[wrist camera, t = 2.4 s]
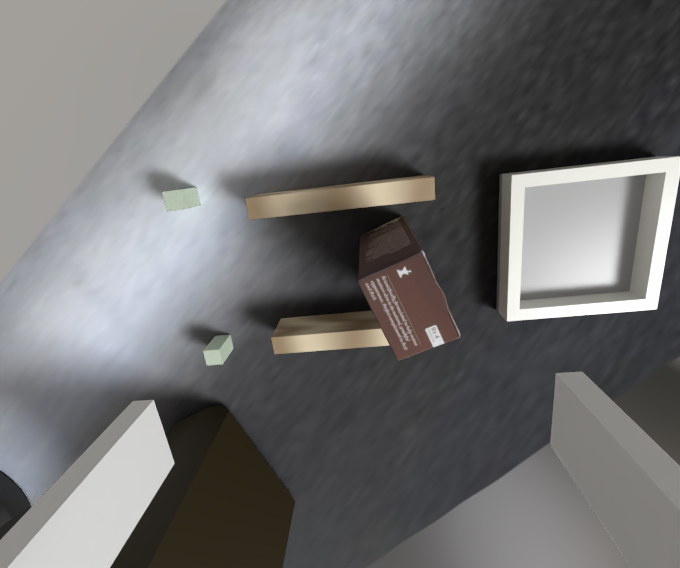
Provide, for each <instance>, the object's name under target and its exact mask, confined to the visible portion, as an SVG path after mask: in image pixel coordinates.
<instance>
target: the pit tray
mask: <svg viewBox="0 0 680 568" xmlns="http://www.w3.org/2000/svg"><path fill="white" fill-rule="evenodd" d="M679 177H680V156H658V157H648V158H639V159H630V160H621V161H612V162H603V163H594V164H586V165H577V166H568V167H559V168H550V169H541V170H532V171H523V172H515V173H506V174H500V178H499V221H498V264H497V306H496V310H497V311H498V312H499V313H500V314H501V315H502V317H503V318H504V319H505V320H506V321H518V320H530V319H542V318H555V317H567V316H580V315H592V314H604V313H617V312H629V311H642V310H654V309H657V305H658V299H659V293H660V288H661V282H662V276H663V270H664V264H665V259H666V253H667V247H668V241H669V235H670V230H671V224H672V218H673V212H674V206H675V201H676V195H677V189H678V183H679Z"/></svg>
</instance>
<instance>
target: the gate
mask: <svg viewBox="0 0 680 568" xmlns="http://www.w3.org/2000/svg"><path fill="white" fill-rule="evenodd" d="M162 194H163V198H164V202H165V206H166V210H167V211H174V210H183V209H188V208H191V207H195V206H198V205H201V204H200V200H199V196H198V191H197V187H194V188H185V189H178V190H171V191H165V192H162ZM232 350H233V344H232V340H231V335H219V336H215V337H214V338H213V339H212V341H211V342H210V343H209V344H208V345H207V347H206V348H205V349H204V350H203V352H204V356H205V360H206V364H207V365H219V364H223V363H224V362H225V360H226V359H227V357H228V356H229V354H230V353H231V351H232Z"/></svg>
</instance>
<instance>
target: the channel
mask: <svg viewBox="0 0 680 568" xmlns="http://www.w3.org/2000/svg"><path fill="white" fill-rule="evenodd" d="M428 200H435V183H434V177H432V176H427V175H421V176H412V177H404V178H395V179H386V180H377V181H369V182H360V183H351V184H342V185H334V186H325V187H316V188H307V189H299V190H290V191H281V192H272V193H264V194H257V195H254V196H251V197H248V198H245V201H246V207H247V212H248V217H249V220H253V219H262V218H271V217H280V216H290V215H299V214H308V213H317V212H326V211H336V210H345V209H354V208H363V207H372V206H382V205H391V204H400V203H409V202H418V201H428ZM271 338H272V343H273V348H274V354H284V353H297V352H309V351H322V350H335V349H348V348H361V347H374V346H387V345H389V343H388V341H387V339H386V337H385V335H384V333H383V331H382V329H381V327H380V325H379V323H378V322H377V320H376V318H375V316H374V314H373V312H372V311H361V312H349V313H337V314H326V315H314V316H302V317H291V318H281V319H280V321H279V323H278V325H277V327H276V329H275V331H274V333H273V335H272V337H271Z"/></svg>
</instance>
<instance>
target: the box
mask: <svg viewBox="0 0 680 568" xmlns="http://www.w3.org/2000/svg"><path fill="white" fill-rule="evenodd" d="M358 274H359V276H358V283H359V285H360V287H361V290H362V292H363V294H364V296H365V298H366V300H367V302H368V304H369V307H370V309H371V311H372V312H373V314H374V316H375V318H376V320H377V322H378V323H379V325H380V327H381V329H382V331H383V333H384V335H385V337H386V339H387V341H388V343H389V345H390V347H391V349H392V351H393V352H394V354H395V356H396V358H397V360H401V359H404V358H407V357H410V356H413V355H415V354H418V353H420V352H423V351H426V350H428V349H431V348H433V347H436V346H439V345H441V344H444V343H447V342H450V341H453V340H456V339H458V338H460V332H459V330H458V328H457V326H456V323H455V321H454V319H453V317H452V315H451V312H450V310H449V308H448V306H447V301H446V298H445V295H444V293H443V291H442V290H441V288H440V287H439V285H438V283H437V281H436V278H435V276H434V274H433V272H432V269H431V267H430V264H429V262H428V260H427V258H426V255H425V253H424V251H423V249H422V248H421V245H420V244H419V242H418V240H417V238H416V237H415V235H414V233H413V232H412V230H411V228H410V226H409V225H408V223H407V221H406V219H405V218H404V216H402V217H399V218H397V219H394V220H392V221H390V222H388V223H386V224H384V225H382V226H380V227H378V228H376V229H374V230H372V231H370V232H368V233H365V234H363V235H361V236H360V247H359V273H358Z"/></svg>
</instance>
